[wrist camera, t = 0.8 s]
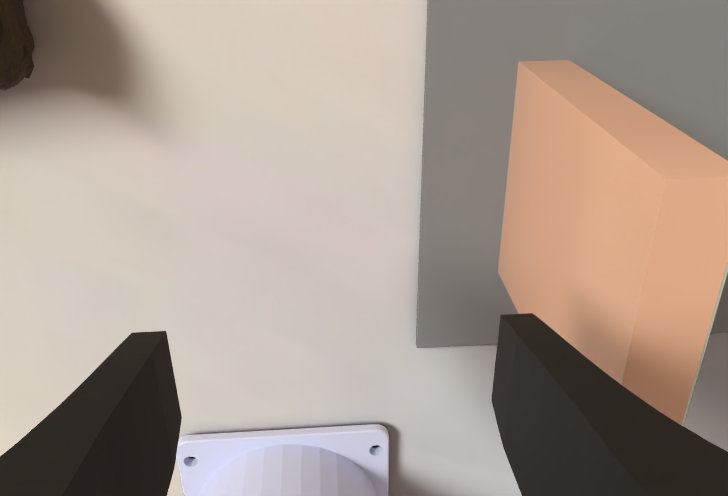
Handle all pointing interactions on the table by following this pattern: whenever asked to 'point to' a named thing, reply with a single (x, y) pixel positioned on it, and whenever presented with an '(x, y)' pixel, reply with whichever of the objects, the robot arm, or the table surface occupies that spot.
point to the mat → (495, 117)
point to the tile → (614, 231)
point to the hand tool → (14, 44)
